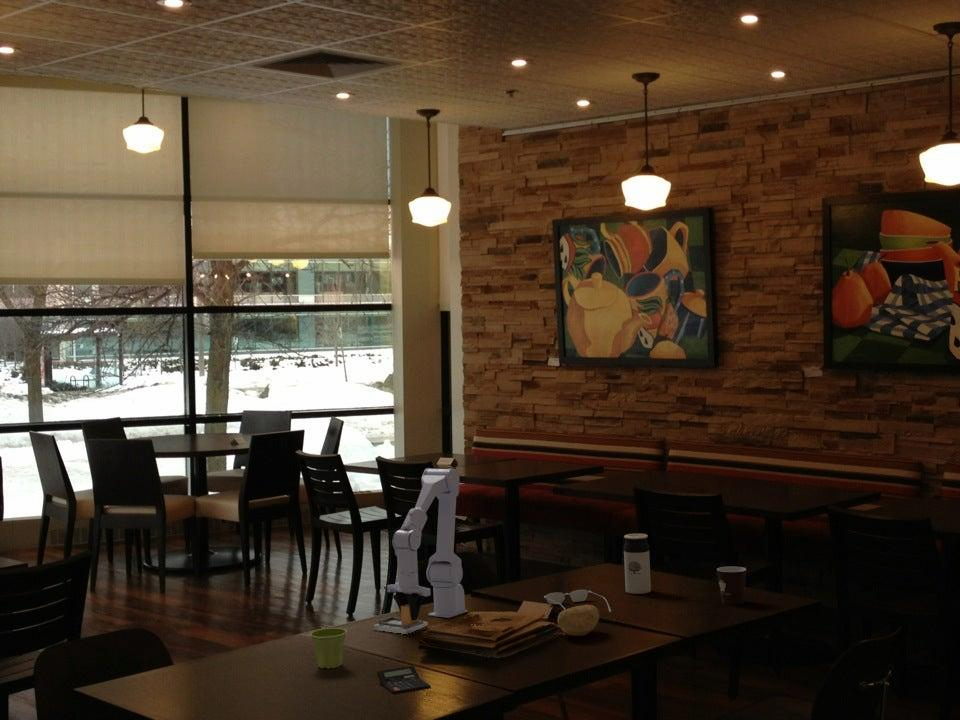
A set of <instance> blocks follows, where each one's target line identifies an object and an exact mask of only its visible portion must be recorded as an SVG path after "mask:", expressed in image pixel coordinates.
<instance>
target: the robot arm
mask: <svg viewBox="0 0 960 720" xmlns="http://www.w3.org/2000/svg"><path fill="white" fill-rule="evenodd" d="M459 494H460V475H459V473H458V471H457V470H456V469H455V468H430V467H427V468H425V469H424V471H423V473H422V475H421V490H420V492H419V495H418V498H417V501H416V503H415V507H414V508H413V507H412V508H410V509H409V511H408V513H407V515H406V517H405V519H404V521H403V523H402V525H401V527H400V529H398V530H396V531H395V532H394V533H393V536H392V540H391V543H392V547H393V549H394V554H395V556H396V560H397V563H396V564H397V580H398V582H397V584H394V583H393V584H392V583H391V584H387V586H386V588H387V589H386V590H387V593H395V594H393V596H392V597H393V599H394V601H395V603H396V605H397V606H398V609H399V612H400V614H401V606H403V605H407V604H409V605H410V611H411V619H412V620H416V619H418V618H419V614H420V610H421V606H422V604H423V601H424V600H425V597H429V596H431V595H432V594H431V588H429V587H424V586H420V585H419V568H418V567H419V565H418V549H419V548H420V546H421V544H422V543H421V542H422V531H423V529H424V526H425V525H426V522H427V520H428V515H427V511H428V509H429V508H430V506H431V505H432V503H433V502H434V500H435V497H436V498H437V499H438V510H437V511H438V513H437V514H438V516H437V534H436V549H435V550H436V551H435V553H434V554H432V555H431V556H430V557H429V559H428V566H427V568H426V572H425V573H426V578H427V581H428V582H429V583H430V586H432V587H433V588H432V589H433V591H432V592H433V610H434V611H433V612H429V613H428V614H427V615H428V616H431V617H439V618H447V619H449V618H452V617H456V616H458V615H462V614H464V613H467V612H468V609H466V603H465V589H464V587H463V585H462V584H461V581H462V579H463V577H464V576H463V575H464V574H463V571H464V570H463V567H462V559H461V558H460V557H459V556H458V555H457V554H455V552H454V550H455V549H454V547H455V527H456V526H455V525H456V510H457V509H456V508H457V497H458V496H459Z"/></svg>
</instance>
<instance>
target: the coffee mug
mask: <svg viewBox="0 0 960 720" xmlns="http://www.w3.org/2000/svg"><path fill="white" fill-rule="evenodd" d="M746 577H747V567H742V566H723V567H722V566H720V567H718V568H716V571H715V579H716V582H717V583H718V585H719V591H720V596H721V597H720V598H721V603H722V604H725V605H732V606H736V605H742V604H744V603H745V591H746V590H745V589H746Z"/></svg>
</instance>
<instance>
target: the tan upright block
mask: <svg viewBox="0 0 960 720" xmlns="http://www.w3.org/2000/svg"><path fill="white" fill-rule="evenodd" d="M400 615H401V616H400V617H401V620H402V625H407V626H408V625H410V624H413V623H416V622H418V621H420V619H419V617H418V619H416V620H412V619H411V611H410V605H409V604H407V605H403V606H401V613H400Z"/></svg>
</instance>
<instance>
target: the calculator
mask: <svg viewBox="0 0 960 720" xmlns="http://www.w3.org/2000/svg"><path fill="white" fill-rule="evenodd" d="M376 675H377V677H378V679H379V681H380V685H381V686H382V687H383V688H384V689H386V690H387V691H388V692H390V693H391V694H393V695H394V694H395V695H396V694H401V693H408V692H414V691H421V690H427V689H430V688H431V685H430V684H429V683H428V682H426V681H425V680H424V679H422V678H421V677H420V676H419V674H418V672H417V670H416V668H415V665H410V666H409V665H408V666H402V667H397V668H390V669H383V670H377V672H376Z"/></svg>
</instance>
